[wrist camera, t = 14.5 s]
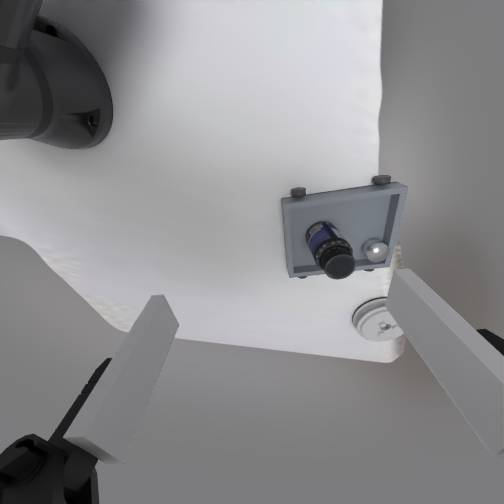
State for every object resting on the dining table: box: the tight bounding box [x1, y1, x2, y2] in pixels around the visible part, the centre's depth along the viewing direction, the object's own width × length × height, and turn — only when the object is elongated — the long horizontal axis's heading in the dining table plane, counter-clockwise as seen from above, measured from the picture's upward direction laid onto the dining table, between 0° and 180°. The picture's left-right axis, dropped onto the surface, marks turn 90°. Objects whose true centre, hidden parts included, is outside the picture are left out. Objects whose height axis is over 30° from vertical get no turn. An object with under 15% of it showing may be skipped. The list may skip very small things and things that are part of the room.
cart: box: [281, 175, 408, 279], centre depth 39 cm, size 20×19×4 cm
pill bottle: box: [306, 222, 356, 279], centre depth 36 cm, size 6×6×11 cm
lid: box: [353, 298, 404, 341], centre depth 51 cm, size 13×13×5 cm
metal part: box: [361, 237, 390, 263], centre depth 40 cm, size 4×4×3 cm
